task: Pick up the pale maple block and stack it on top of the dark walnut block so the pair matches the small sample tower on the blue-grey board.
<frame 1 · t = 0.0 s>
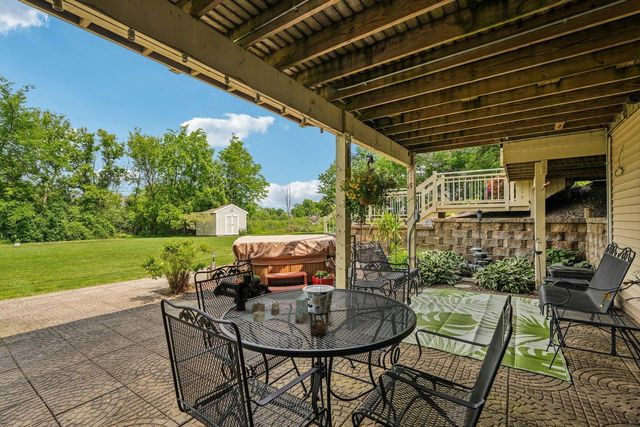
hand: (266, 293, 193), 17 cm above the table, tool horizontal, fingers open, 9 cm apart
maple block: (259, 320, 185), point 1 cm above the table, touching board
sample tower: (275, 314, 198), resting on board
decorative turtle: (318, 333, 168), on the table
walnut block: (258, 313, 200), point 1 cm above the table, touching board
snack box: (303, 318, 194), on the table
board: (260, 317, 195), on the table
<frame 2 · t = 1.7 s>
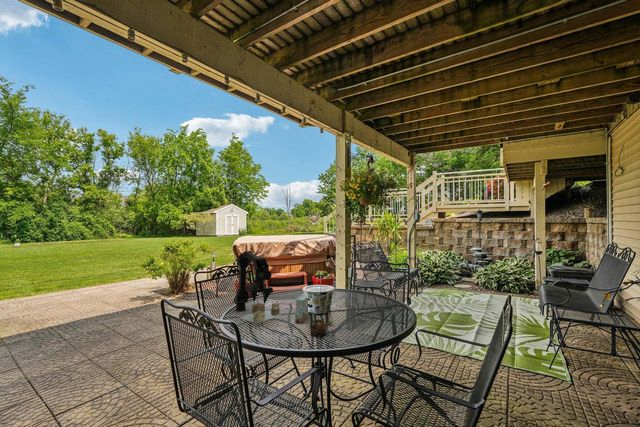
hand: (259, 302, 186), 13 cm above the table, tool pointing down, fingers open, 9 cm apart
nothing on the table moved.
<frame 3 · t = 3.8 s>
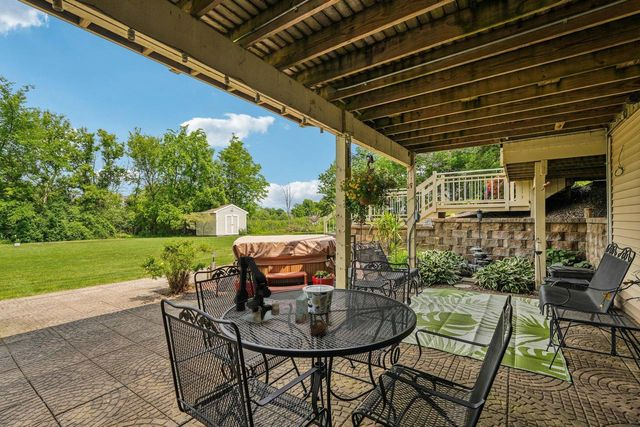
hand: (259, 319, 186), 2 cm above the table, tool pointing down, fingers closed on maple block, 5 cm apart
maple block: (259, 320, 185), point 1 cm above the table, touching board, gripper
everything else where it was.
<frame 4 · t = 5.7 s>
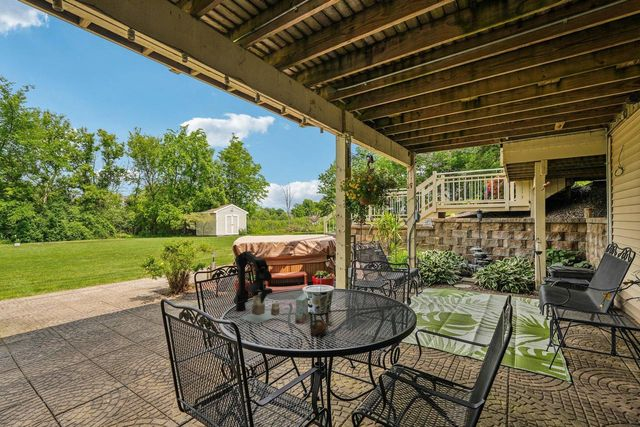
hand: (258, 302, 189), 12 cm above the table, tool pointing down, fingers closed on maple block, 5 cm apart
maple block: (258, 303, 189), point 11 cm above the table, touching gripper
everything else where it was.
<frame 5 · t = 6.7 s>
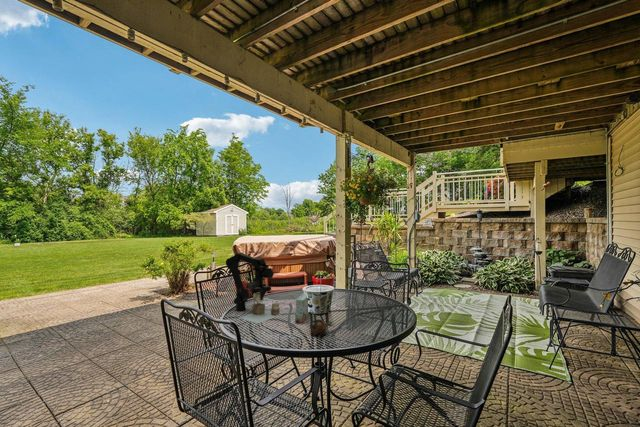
hand: (258, 299, 200), 10 cm above the table, tool pointing down, fingers closed on maple block, 5 cm apart
maple block: (258, 300, 200), point 10 cm above the table, touching gripper
everything else where it was.
when the fingers open (9 cm above the table, at t = 7.6 s): maple block drops 1 cm, resting on walnut block.
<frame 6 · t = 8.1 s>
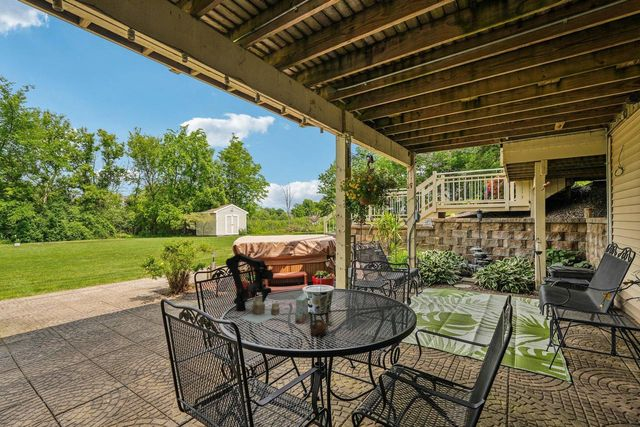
hand: (258, 301, 200), 9 cm above the table, tool pointing down, fingers open, 9 cm apart
maple block: (258, 304, 200), point 7 cm above the table, touching walnut block
walnut block: (258, 313, 200), point 1 cm above the table, touching board, maple block
everything else where it was.
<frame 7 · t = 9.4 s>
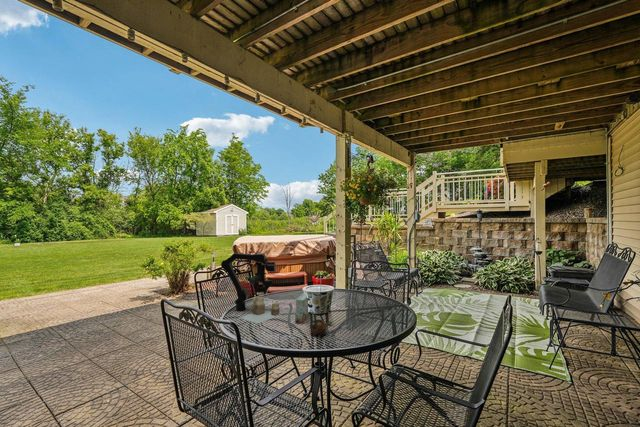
hand: (260, 293, 207), 13 cm above the table, tool pointing down, fingers open, 9 cm apart
nothing on the table moved.
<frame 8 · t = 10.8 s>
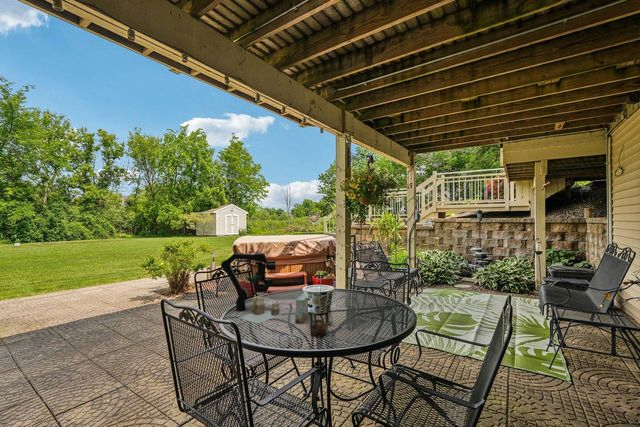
hand: (260, 292, 210), 13 cm above the table, tool pointing down, fingers open, 9 cm apart
nothing on the table moved.
at the end: maple block 0.0 cm off-centre on the walnut block, point 6.0 cm above the walnut block's base; maple block tilted 0°; the gripper is holding nothing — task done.
